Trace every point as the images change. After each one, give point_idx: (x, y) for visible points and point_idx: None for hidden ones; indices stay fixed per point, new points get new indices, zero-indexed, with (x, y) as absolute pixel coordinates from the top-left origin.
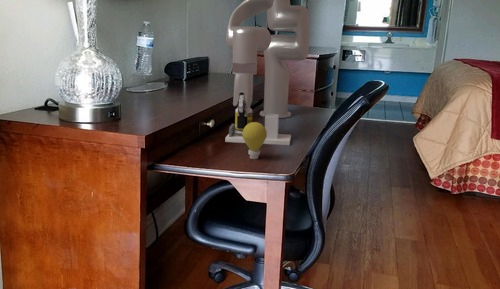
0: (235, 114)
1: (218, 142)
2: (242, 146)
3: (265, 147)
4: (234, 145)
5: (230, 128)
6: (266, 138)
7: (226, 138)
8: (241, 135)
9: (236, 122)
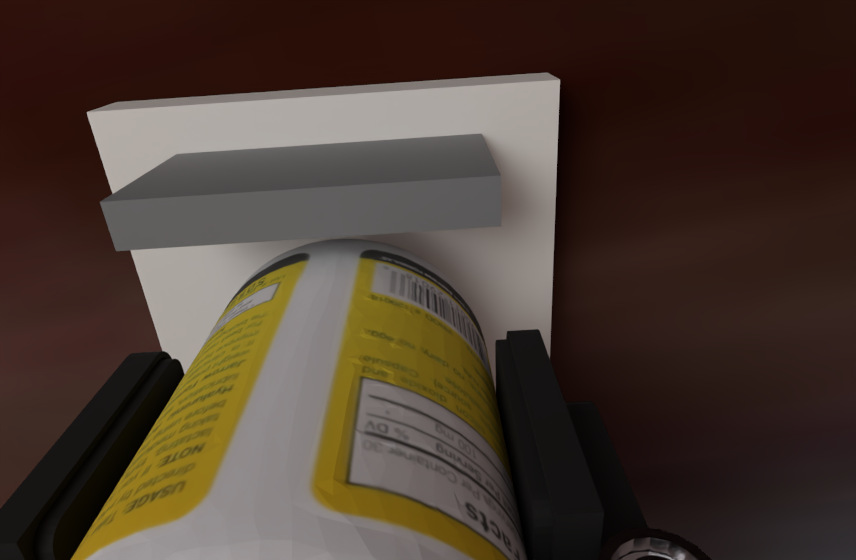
0: (182, 459)
1: (30, 3)
2: (25, 356)
3: None
4: (11, 264)
5: (116, 224)
6: None
7: (95, 130)
8: None
9: (192, 369)
